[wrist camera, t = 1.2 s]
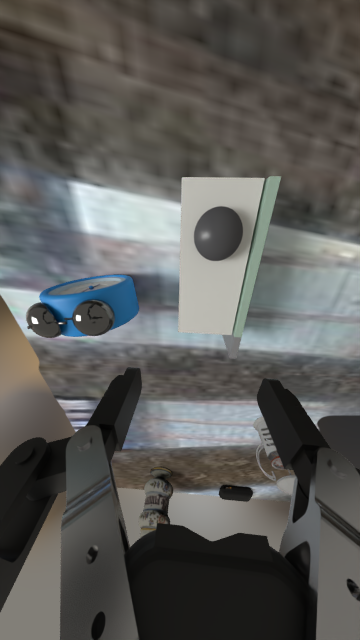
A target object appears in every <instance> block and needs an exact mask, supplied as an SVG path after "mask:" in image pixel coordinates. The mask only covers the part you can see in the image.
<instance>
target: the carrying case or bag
mask: <svg viewBox="0 0 360 640" xmlns="http://www.w3.org/2000/svg"><path fill="white" fill-rule="evenodd" d="M252 495H253V491H252V490H251V489H250V488H248V487H238V486H227V485H223V486H222V487H221V488H220V491H219V496H220V497H221V498H222V499H225V500H236V501H249V500H250V498H251V497H252Z"/></svg>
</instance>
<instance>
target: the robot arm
mask: <svg viewBox="0 0 360 640" xmlns="http://www.w3.org/2000/svg"><path fill="white" fill-rule="evenodd" d="M141 389H142V382H141V372H140V368H131V367H128V368H127V370H126V371H125V373H124V375H118V376H117V377H116V378H115V379H114V380H113V381H112V382H111V384H110V385H109V387H108V390H107V391H106V392H105V394H104V397H102V399H101V401H100V403H99V404H98V406H97V408H96V410H95V411H94V413H93V415H92V417H91V418H90V420H89V422H88V423H87V425H86V426H85V427H83V428H81V429H80V430H78V431H77V432H76V433H75V434H74V435H73V436H71V437H69V438H65V439H62V440H57V441H53V442H49V443H47V442H46V440H45V439H43V438H40V437H39V438H32V439H30V440H27V441H25V442H24V443H22V444H21V445H19V446H18V447H17V448H16V449H14V450H13V451H12V452H11V453H10V455H9V456H8V457H7V458H6V460H5V461H4V462H3V463H2V464H1V466H0V612H1V610H2V608H3V605H4V603H5V601H6V599H7V597H8V595H9V593H10V591H11V589H12V587H13V585H14V583H15V581H16V579H17V577H18V575H19V573H20V571H21V569H22V566H23V565H24V562H25V560H26V558H27V556H28V554H29V552H30V550H31V548H32V546H33V544H34V542H35V540H36V538H37V536H38V534H39V532H40V530H41V528H42V525H43V524H44V521H45V519H46V517H47V515H48V513H49V511H50V509H51V507H52V505H53V503H54V501H55V499H56V497H57V495H58V493H61V492H64V491H67V492H66V498H67V499H66V500H67V501H66V502H67V504H66V511H65V512H64V514H63V517H62V524H61V606H60V609H61V610H60V612H61V613H60V640H360V470H359V469H357V468H355V467H354V466H353V465H352V464H351V463H350V462H349V461H348V460H347V459H346V458H345V457H344V456H342V455H341V454H340V453H338V452H336V451H335V450H332V449H331V448H330V447H329V445H328V444H327V442H326V441H325V439H324V438H323V436H322V435H321V434H320V432H319V430H318V429H317V427H316V426H315V424H314V423H313V421H312V420H311V418H310V417H309V416H308V415H307V413H306V411H305V410H304V408H302V405H301V404H300V402H299V401H298V399H297V398H296V396H295V395H293V394H292V393H291V392H290V391H289V390H288V389H284V387H283V386H282V384H281V383H280V381H279V380H277V379H266V378H265V379H263V381H262V384H261V386H260V389H259V391H258V394H257V402H258V405H259V408H260V410H261V413H262V415H263V418H264V420H265V423H266V425H267V427H268V430H269V432H270V435H271V437H272V440H273V442H274V445H275V447H276V450H277V452H278V455H279V457H280V459H281V462H282V464H283V467H284V469H288V470H294V472H295V475H296V478H295V480H294V487H293V493H292V499H291V506H290V512H289V519H288V524H287V527H286V530H285V532H284V534H283V537H282V541H281V545H280V550H279V552H277V551H276V550H275V549H273V548H272V547H270V546H269V543H268V539H267V536H261V535H252V534H244V533H237V534H234V535H232V536H229V537H226V538H223V539H220V540H217V541H209V540H207V539H205V538H204V537H202V536H200V535H198V534H197V533H195V532H193V531H191V530H189V529H188V528H186V527H184V526H179V525H171V524H163V523H157V527H156V530H154V531H151V532H149V533H147V534H146V535H144V536H142V537H141V538H140V539H139V540H137V541H136V542H135V543H134V544H133V545H132V546H131V547H130V545H129V541H128V536H127V531H126V527H125V523H124V518H123V514H122V510H121V506H120V502H119V497H118V492H117V488H116V483H115V478H114V473H113V469H112V464H111V459H112V457H113V454H114V451H121V450H122V447H123V444H124V441H125V438H126V435H127V432H128V429H129V426H130V423H131V420H132V417H133V414H134V411H135V408H136V405H137V403H138V400H139V397H140V394H141Z"/></svg>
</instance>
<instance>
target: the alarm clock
mask: <svg viewBox="0 0 360 640" xmlns="http://www.w3.org/2000/svg"><path fill="white" fill-rule="evenodd" d="M39 298H40V300H41V302H42V303H36V304H34V305H32V306H31V307H30V308H29V309H28V311H27V313H26V321H27V323H28V325H29V326H28V327H27V328H28V329H32V330H33V332H35V333H36V334H38V335H40V336H42V337H46V338H54V337H57V336H60V335H61V334H62V335H65V336H71V337H80V336H99V335H102V334H105V333H106V332H108V331H109V330H112V329H115V328H117V327H119V326H121V325H123V324H125V323H127V322H128V321H130V320H131V319H133V318H134V317H135V316H136V315H137V313H138V311H139V305H138V300H137V296H136V292H135V287H134V283H133V279H132V278H131V277H130V276H127V275H104V276H96V277H90V278H84V279H79V280H74V281H70V282H66V283H63V284H59V285H56V286H53V287H51V288H48V289H46V290H44V291H43V292H42V293H41V294H40V296H39Z"/></svg>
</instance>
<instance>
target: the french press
mask: <svg viewBox="0 0 360 640" xmlns="http://www.w3.org/2000/svg"><path fill="white" fill-rule="evenodd" d="M253 426H254V428H255V429H256V430H257V431H258V433H259V436H260V439H261V442H262V443H261V444H260V445H259V446H258V448H259V447H260V446H261V445H262V444H263V447H262V448H265V451H266V453H267V456H268V459H269V460H270V461H271V465H272V466H273V467H274V468H277V469H281V470H283V469H284V467H283V464H282V462H281V459H280V457H279V455H278V453H276V452H273V451H275V450H276V447H275V445H274V442H273V440H272V437H271V435H270V432H269V430H268V427H267V425H266V423H265V420H264V418H263V417H260V418H258V419H257V420H255V422H254V424H253ZM266 439H268V440H269V441H267V440H266ZM268 444H271V445H274V446H269V445H268ZM258 448H257V452H258ZM262 448H261V449H262ZM261 449H260V450H259V452H258V457H257V461H258V464H259V466H260V468H261V469H262V467H261V465H260V462H259V453H260V451H261ZM257 452H256V456H257ZM271 453H272V454H274V455H278V457H274V456H272V455H271ZM286 470H287V469H286ZM262 471H263V472H264V470H263V469H262ZM288 471H289V470H288ZM272 473H273V476H270V475H268V474H267V473H266V472H264V474H265V475H266V476H267V477H268V478H270V477H271V478H270V479H272V478H275V479H272V480H274V481H275V480H276V477H275V474H274V472H273V471H272ZM289 473H290V471H289ZM295 478H296V475H295V476H294V475H293V476H291V473H290V476H286V477H283V478H280V479H279V480H278V481H277V487H278V488H279V489H280V490H282V491H283V492H285V493H288V494H290V495H292V493H293V487H294V480H295Z"/></svg>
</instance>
